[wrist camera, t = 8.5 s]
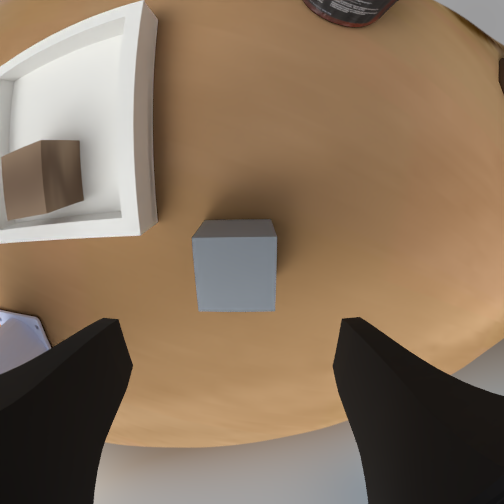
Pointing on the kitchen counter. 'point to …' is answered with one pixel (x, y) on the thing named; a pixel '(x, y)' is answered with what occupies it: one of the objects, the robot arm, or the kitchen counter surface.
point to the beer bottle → (501, 74)
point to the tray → (88, 122)
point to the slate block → (235, 265)
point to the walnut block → (42, 178)
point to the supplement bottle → (350, 10)
